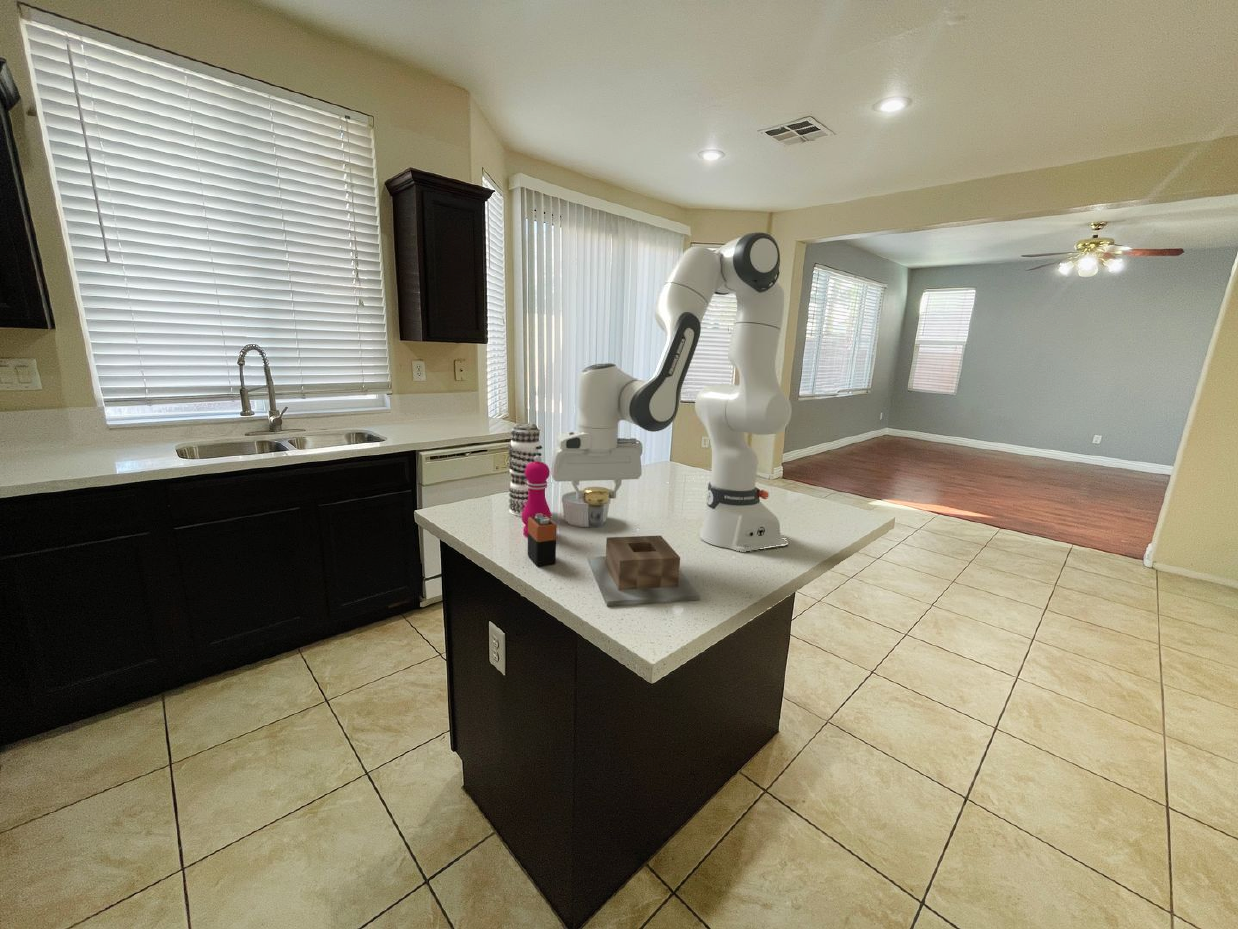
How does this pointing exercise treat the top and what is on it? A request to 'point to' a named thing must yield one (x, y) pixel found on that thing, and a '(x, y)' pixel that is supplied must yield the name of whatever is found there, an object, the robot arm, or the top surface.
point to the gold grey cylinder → (596, 504)
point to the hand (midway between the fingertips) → (596, 498)
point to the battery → (542, 540)
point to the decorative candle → (521, 463)
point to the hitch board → (639, 593)
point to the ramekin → (578, 510)
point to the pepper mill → (536, 491)
